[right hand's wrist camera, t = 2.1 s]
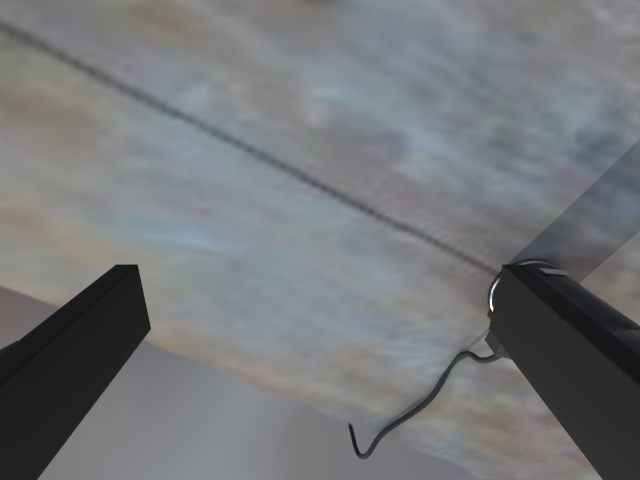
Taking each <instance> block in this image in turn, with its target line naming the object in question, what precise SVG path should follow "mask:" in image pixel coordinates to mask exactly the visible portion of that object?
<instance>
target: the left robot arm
mask: <svg viewBox="0 0 640 480" xmlns="http://www.w3.org/2000/svg"><path fill="white" fill-rule="evenodd" d="M512 265H525V266H526V267H527V268H529V269H530V270H531V271H533V272H534V273H535V274H536V275H538V276H539V277H540V278H541V279H543V280H544V281H545V282H547V283H548V284H549V285H550V286H552V287H553V288H554V289H556V290H557V291H558V292H559V293H561V294H562V295H563V296H565V297H566V298H567V299H568V300H570V301H571V302H572V303H573V304H575V305H576V306H577V307H579V308H580V309H581V310H582V311H584V312H585V313H586V314H588V315H589V316H590V317H591V318H593V319H594V320H595V321H597V322H598V323H599V324H600V325H602V326H603V327H604V328H605V329H607V330H608V331H609V332H611V333H612V334H613V335H614V336H616V337H617V338H618V339H620V340H625V341H627V342H629V343H631V344H633V345H635V346H636V347H638V348H640V326H639V325H638V324H636V323H635V322H633V321H632V320H631V319H629V318H628V317H626V316H625V315H623V314H622V313H620V312H619V311H617V310H616V309H615V308H613V307H612V306H610V305H609V304H607V303H606V302H604V301H603V300H602V299H600V298H599V297H597V296H596V295H594V294H593V293H591V292H590V291H588V290H587V289H586V288H584V287H583V286H581V285H580V284H578V283H577V282H575V281H574V280H572V279H571V278H570V277H568V276H567V275H570V274H568V273H567V272H565V271H564V270H559V269H558V268H557V267H555V266H554V265H552V264H551V263H549V262H546V261H543V260H537V259H530V260H524V261H520V262H517V263H514V264H512ZM500 274H501V273H500ZM500 274H499V275H498V276H497V277H496V278H495V279H494V281H493V283H492V284H491V287H490V289H489V293H488V304H489V307H490V310H489V312H488V314H487V316H488V317H489V318H490V320H491V317H492V312H493V307H494V303H495V298H496V293H497V288H498V284H499V279H500ZM485 341H486V342H487V344H488V345H489V346H490V348H491V349H492V351H493V352H494V354H493V355H491V356H489V357H485V358H480V357H478V356H477V355H475V354H474V353H472V352H469V351H465V352H463V353H460V354H459V355H457V356H456V357H455V358H454V360H453V361H452V363H451V364H450V365H449V367H448V368H447V369H446V371H445V372H444V374H443V375H442V376H441V378H440V380H439V382H438V384H437V385H436V387H435V389H434V390H433V392H432V393H431V394H430V395H429V396H428V398H427V399H426V400H424V401H423V402H422V403H421V404H420V405H418V406H417V407H416V408H414V409H413V410H412V411H410V412H409V413H407V414H405V415H404V416H402V417H401V418H399V419H398V420H396V421H395V422H393V423H392V424H390V425H389V426H388V427H386V428H385V429H384V430H383V431H381V432H380V433H379V434H378V435H377V437H376V438H375V439H374V441H373V443H372V444H371V446H370V448H369V449H368V451H367V452H366V453H365V454H361V453H360V452H359V449H358V447H357V442H356V438H355V434H354V430H353V426H352V424H350V423H348V426H349V430H350V435H351V439H352V444H353V448H354V451H355V454H356V455H357V457H358V458H360V459H367V458H368V457H369V456H370V455H371V453H372V452H373V450H374V449H375V447H376V445H377V444H378V442H379V441H380V440H381V439H382V438H383V437H384V436H385V435H386V434H387V433H388V432H390V431H391V430H392V429H394V428H395V427H397V426H398V425H400V424H401V423H403V422H405V421H406V420H408V419H409V418H411V417H412V416H414V415H415V414H417V413H418V412H420V411H421V410H422V409H423V408H425V407H426V406H427V405H428V404H429V403H430V402H431V401H432V400H433V399H434V398H435V397H436V395H437V394H438V392H439V391H440V389H441V387H442V385H443V384H444V382H445V380H446V378H447V376H448V374H449V372H450V370H451V369H452V367H453V366H454V365H455V364H456V363H457V362H458V361H459V360H461V359H463V358H466V357H470V358H472V359H473V360H475V361H476V362H478V363H490V362H493V361H496V360H498V359H499V358H501V357H504V358H507V359H511V357H510V356H509V355H508V353H507V352H506V351H505V350H504V348H503V347H502V346H501V344H500V343H499V342H498V340H497V339H496V338H495V336H494V335H493V334H492V332H491V331H489V333H488V335H487V336H486V338H485ZM511 360H512V359H511Z"/></svg>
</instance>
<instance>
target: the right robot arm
mask: <svg viewBox="0 0 640 480" xmlns="http://www.w3.org/2000/svg"><path fill="white" fill-rule="evenodd" d="M150 330H151V327H150V322H149V317H148V312H147V307H146V303H145V298H144V293H143V288H142V284H141V279H140V274H139V269H138V265H115V266H114V267H113V268H111V269H110V270H109V271H107V272H106V273H105V274H104V275H102V276H101V277H100V278H99V279H97V280H96V281H95V282H93V283H92V284H91V285H90V286H88V287H87V288H86V289H84V290H83V291H82V292H81V293H79V294H78V295H77V296H75V297H74V298H73V299H72V300H70V301H69V302H68V303H67V304H65V305H64V306H63V307H61V308H60V309H59V310H58V311H56V312H55V313H54V314H52V315H51V316H50V317H49V318H47V319H46V320H45V321H44V322H42V323H41V324H40V325H38V326H37V327H36V328H35V329H33V330H32V331H31V332H29V333H28V334H27V335H26V336H24V337H23V338H22V339H20V340H19V341H16V342H14V343H12V344H10V345H8V346H6V347H5V348H3V349H1V350H0V480H37V479H38V478H39V477H40V475H41V474H42V473H43V471H44V470H45V469H46V467H47V466H48V465H49V463H50V462H51V461H52V459H53V458H54V457H55V455H56V454H57V453H58V451H59V450H60V449H61V447H62V446H63V445H64V443H65V442H66V441H67V439H68V438H69V437H70V436H71V434H72V433H73V432H74V430H75V429H76V428H77V426H78V425H79V424H80V422H81V421H82V420H83V418H84V417H85V416H86V414H87V413H88V412H89V410H90V409H91V408H92V406H93V405H94V404H95V402H96V401H97V400H98V398H99V397H100V396H101V394H102V393H103V392H104V391H105V389H106V388H107V387H108V385H109V384H110V383H111V381H112V380H113V379H114V377H115V376H116V375H117V373H118V372H119V371H120V369H121V368H122V367H123V365H124V364H125V363H126V361H127V360H128V359H129V357H130V356H131V355H132V353H133V352H134V351H135V349H136V348H137V347H138V346H139V344H140V343H141V342H142V340H143V339H144V338H145V336H146V335H147V334H148V332H149V331H150ZM489 330H490V331H491V332H492V334H493V335H494V336H495V338H496V339H497V340H498V342H499V343H500V344H501V346H502V347H503V348H504V350H505V351H506V352H507V353H508V355H509V356H510V357H511V359H512V360H513V361H514V363H515V364H516V365H517V367H518V368H519V369H520V371H521V372H522V373H523V375H524V376H525V377H526V379H527V380H528V381H529V383H530V384H531V385H532V387H533V388H534V389H535V391H536V392H537V393H538V395H539V396H540V397H541V398H542V400H543V401H544V402H545V404H546V405H547V406H548V408H549V409H550V410H551V412H552V413H553V414H554V416H555V417H556V418H557V420H558V421H559V422H560V424H561V425H562V426H563V428H564V429H565V430H566V432H567V433H568V434H569V436H570V437H571V438H572V439H573V441H574V442H575V443H576V445H577V446H578V447H579V449H580V450H581V451H582V453H583V454H584V455H585V457H586V458H587V459H588V461H589V462H590V463H591V465H592V466H593V467H594V469H595V470H596V471H597V473H598V474H599V475H600V477H601V478H602V479H603V480H640V348H638V347H636V346H635V345H633V344H631V343H629V342H627V341H625V340H620V339H618V338H617V337H616V336H614V335H613V334H612V333H611V332H609V331H608V330H607V329H605V328H604V327H603V326H602V325H600V324H599V323H598V322H597V321H595V320H594V319H593V318H591V317H590V316H589V315H588V314H586V313H585V312H584V311H582V310H581V309H580V308H579V307H577V306H576V305H575V304H573V303H572V302H571V301H570V300H568V299H567V298H566V297H565V296H563V295H562V294H561V293H559V292H558V291H557V290H556V289H554V288H553V287H552V286H550V285H549V284H548V283H547V282H545V281H544V280H543V279H541V278H540V277H539V276H538V275H536V274H535V273H534V272H533V271H531V270H530V269H529V268H527V267H526V266H525V265H502V269H501V274H500V279H499V284H498V288H497V293H496V298H495V303H494V307H493V312H492V317H491V322H490V327H489Z"/></svg>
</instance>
